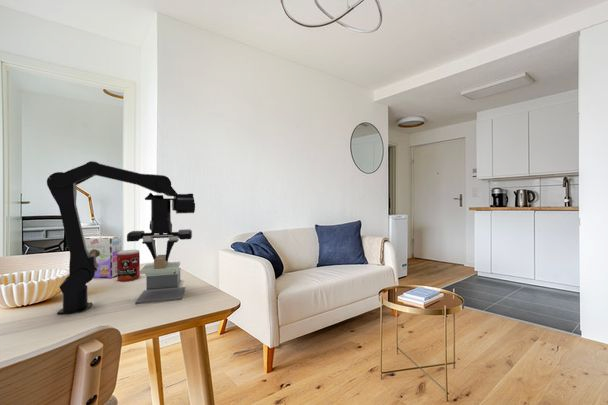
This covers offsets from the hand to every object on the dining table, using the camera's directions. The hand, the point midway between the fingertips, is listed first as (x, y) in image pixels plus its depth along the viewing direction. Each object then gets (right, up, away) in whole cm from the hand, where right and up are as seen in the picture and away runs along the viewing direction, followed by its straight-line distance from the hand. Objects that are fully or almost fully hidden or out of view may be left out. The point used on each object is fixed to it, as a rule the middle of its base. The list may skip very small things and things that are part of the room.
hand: (161, 261), depth 97 cm
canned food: (-23, -11, +21) cm, 33 cm away
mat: (0, -11, 0) cm, 11 cm away
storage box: (-5, -11, +12) cm, 17 cm away
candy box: (-37, -11, +25) cm, 46 cm away
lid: (0, -4, 0) cm, 4 cm away
